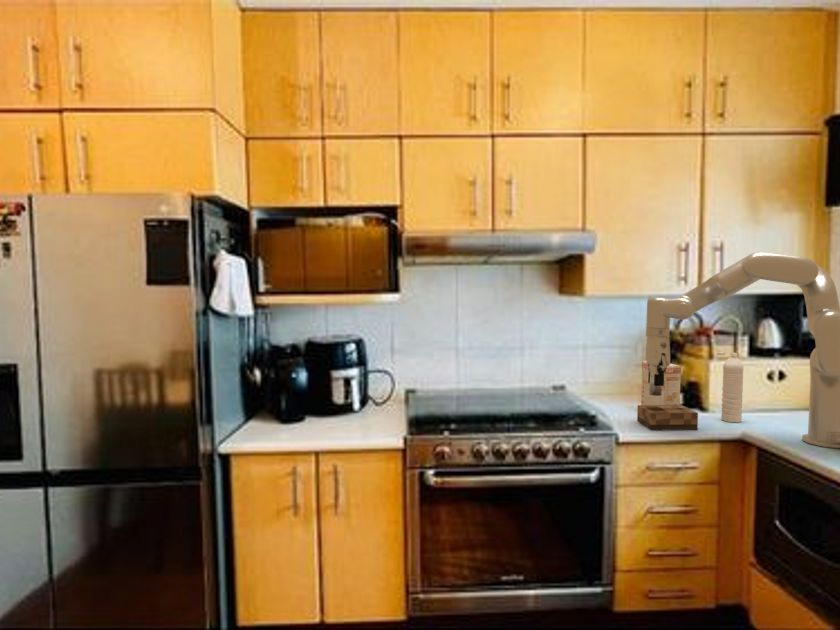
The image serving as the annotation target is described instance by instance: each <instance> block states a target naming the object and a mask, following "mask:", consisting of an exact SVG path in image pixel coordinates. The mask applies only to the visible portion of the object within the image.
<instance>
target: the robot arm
mask: <svg viewBox="0 0 840 630" xmlns="http://www.w3.org/2000/svg"><path fill="white" fill-rule="evenodd" d="M759 280H764V281H770V282H778V283H783V284H784V283H785V284H791V285H796V286H798V287H799V288H800V290H801V291H802V293H803V296H804V297H803V298H804V302H805V307H806V315H807V327H808V331H809V333H810V334H811V335H813V336H814V341H815V348H814V349H813V350H812V351H811V353H810V355H809V356H810V357H809V371H810V372H809V373H810V379H809V380H810V385H809V389H810V390H809V404H808V405H809V406H808V427H807V433H806V434H802V435H801V436H802V437H801V440H802V441H803V442H805V443H807V444H810V445H813V446H819V447H823V448H824V447H825V448H832V449H833V448H834V449H840V302H839V298H838V297H839V296H838V291H837V288H836V287H837V286H836V284H835V282H834V279H833V278H832V277H831V275H830V274H829V273H828V272H827V271H826V270H825V269H824V268H822V267H821V266H820V265H818V264H817V263H816V262H815V261H814V260H813V259H811V258H809V257H804V256H797V255H796V256H794V255H785V254H778V253H772V252H764V251H756V252H753V253H751V254H749V255H746V256H745V257H744V258H741V259H740V260H738V261H737V262H735V263H734V262H733V264H731V265H730V266H727V267H726V268H724V269H723V270H720V271H719V272H717V273H716V274H714V275H712V276H711V277H709V278H708V279H706V280H704V282H702V283H701V284H699V285H698V286H696V287H694V288H692V289H690V290H688V291H687V292H685V293H683V294H682V295H679V296H678V297H675V298H669V297H665V296H664V297H662V296H661V297H660V296H659V297H657V296H654V297H653V296H652V297H649V298H648V299H647V304H646V324H645V326H646V327H645V328H646V329H645V336H646V345H645V361H647V364H648V371H649V375H648V383H650V363H651V364H653V365H655V373H656V374H654V385H655V386H664V374H665V370H666V369H667V366H669V365H670V364H671V345H670V326H671V325H670V324H671V323H670V322H671V319H675V320H683V321H684V320H688V319H690V318H691V317H692V316H693V315H694V314H695V313H696V312H699V311H700V310H702V309H704V308H705V307H707V306H709V305H711V304H713V303H716V302H719V301H721V300H725V299H727V298H729V297H732V296H734V295H735V294H736V293H738V292H740V291H742V290H744V289H745V288H747V287H749V286H751V285H753V284H754V283H756V282H758V281H759ZM659 364H661V365H659ZM658 367H661V368H659V370H658Z"/></svg>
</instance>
